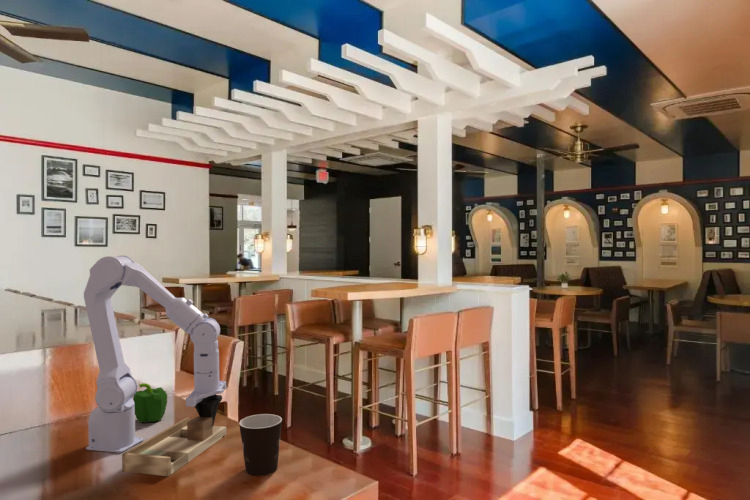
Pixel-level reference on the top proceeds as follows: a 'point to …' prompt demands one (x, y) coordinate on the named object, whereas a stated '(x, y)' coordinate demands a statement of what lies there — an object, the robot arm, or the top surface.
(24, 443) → the top surface
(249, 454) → the black cup
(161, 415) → the bell pepper
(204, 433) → the walnut block
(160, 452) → the birch tray
